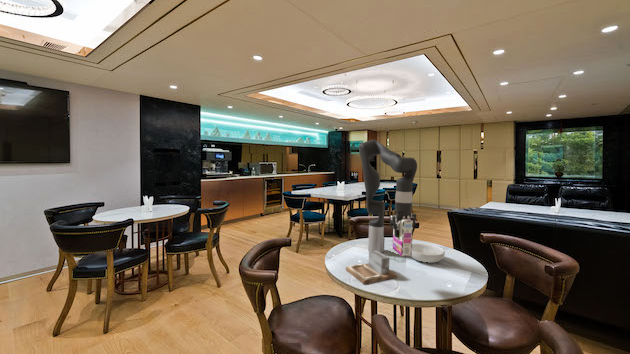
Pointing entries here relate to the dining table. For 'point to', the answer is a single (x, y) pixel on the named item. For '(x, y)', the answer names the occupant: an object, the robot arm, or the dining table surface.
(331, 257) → the dining table surface
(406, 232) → the candy bar box
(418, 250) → the serving bowl
